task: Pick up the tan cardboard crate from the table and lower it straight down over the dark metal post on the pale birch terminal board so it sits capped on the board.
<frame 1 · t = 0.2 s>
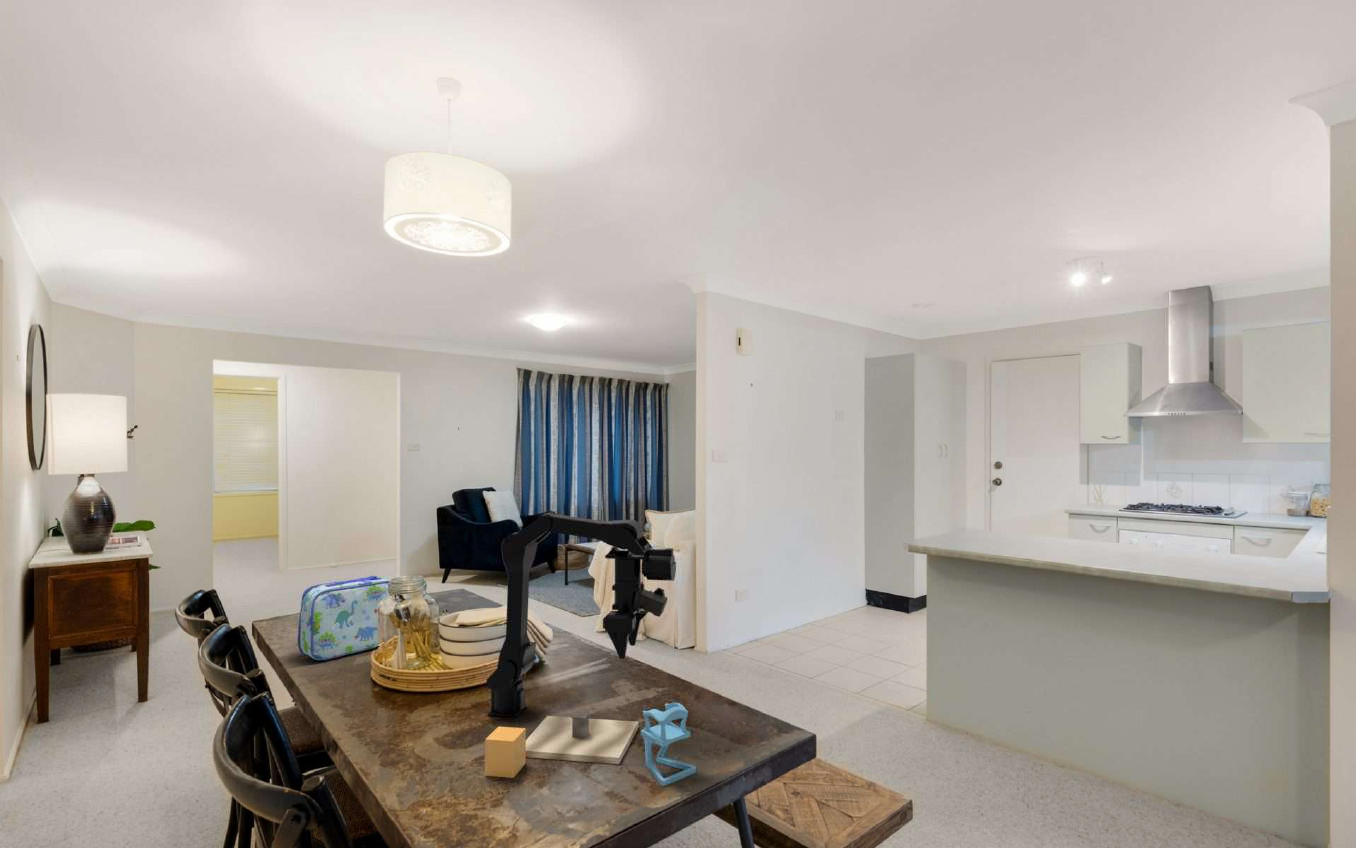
hand: (627, 651, 141), 14 cm above the table, tool pointing down, fingers open, 9 cm apart
chair: (665, 772, 118), on the table
tan cardboard crate: (505, 769, 119), on the table
terminal board: (580, 741, 130), on the table
lunch box: (350, 651, 190), on the table
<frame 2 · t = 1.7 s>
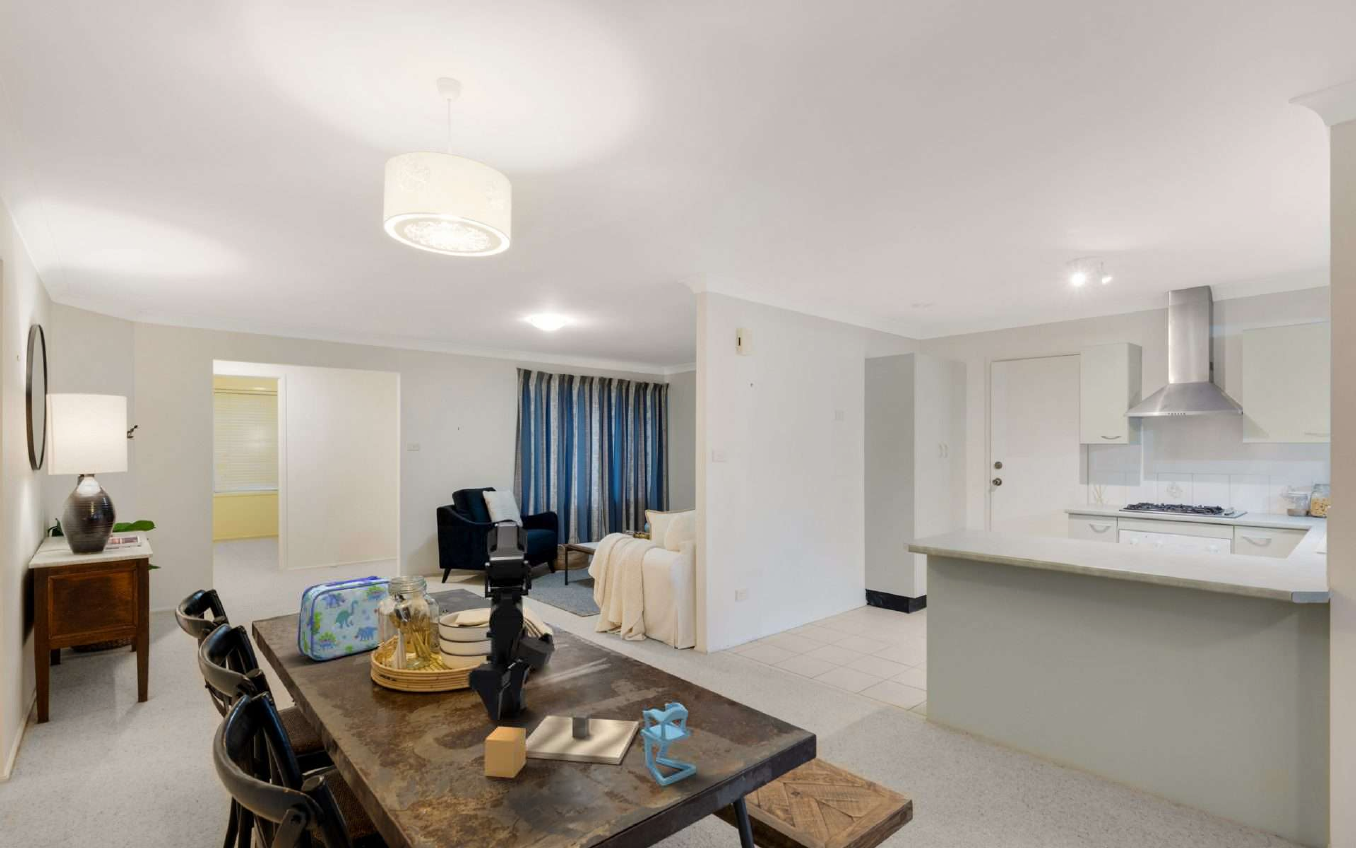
hand: (506, 709, 119), 11 cm above the table, tool pointing down, fingers open, 9 cm apart
nothing on the table moved.
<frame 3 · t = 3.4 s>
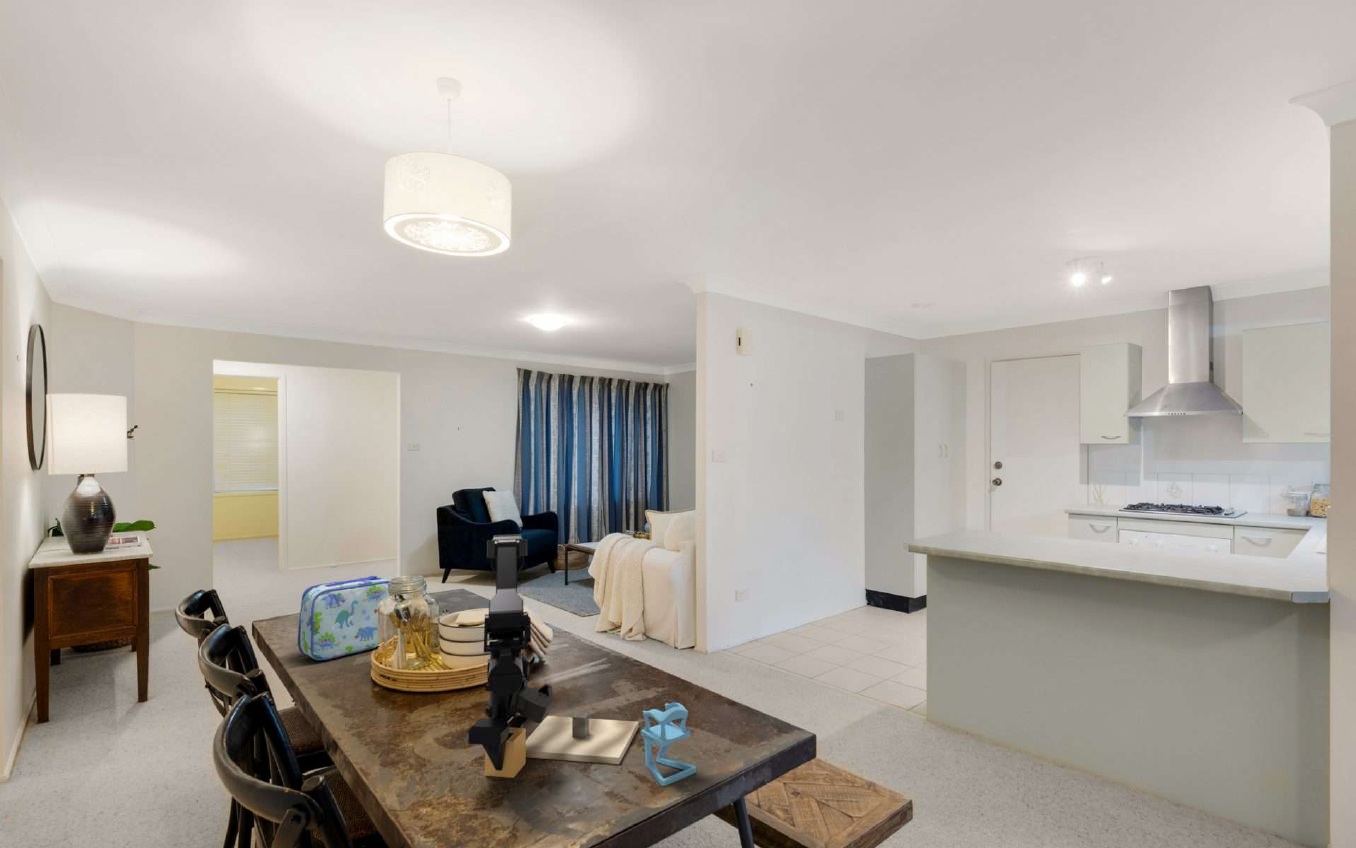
hand: (505, 762, 119), 1 cm above the table, tool pointing down, fingers closed on tan cardboard crate, 5 cm apart
tan cardboard crate: (505, 769, 119), on the table, touching gripper
everything else where it was.
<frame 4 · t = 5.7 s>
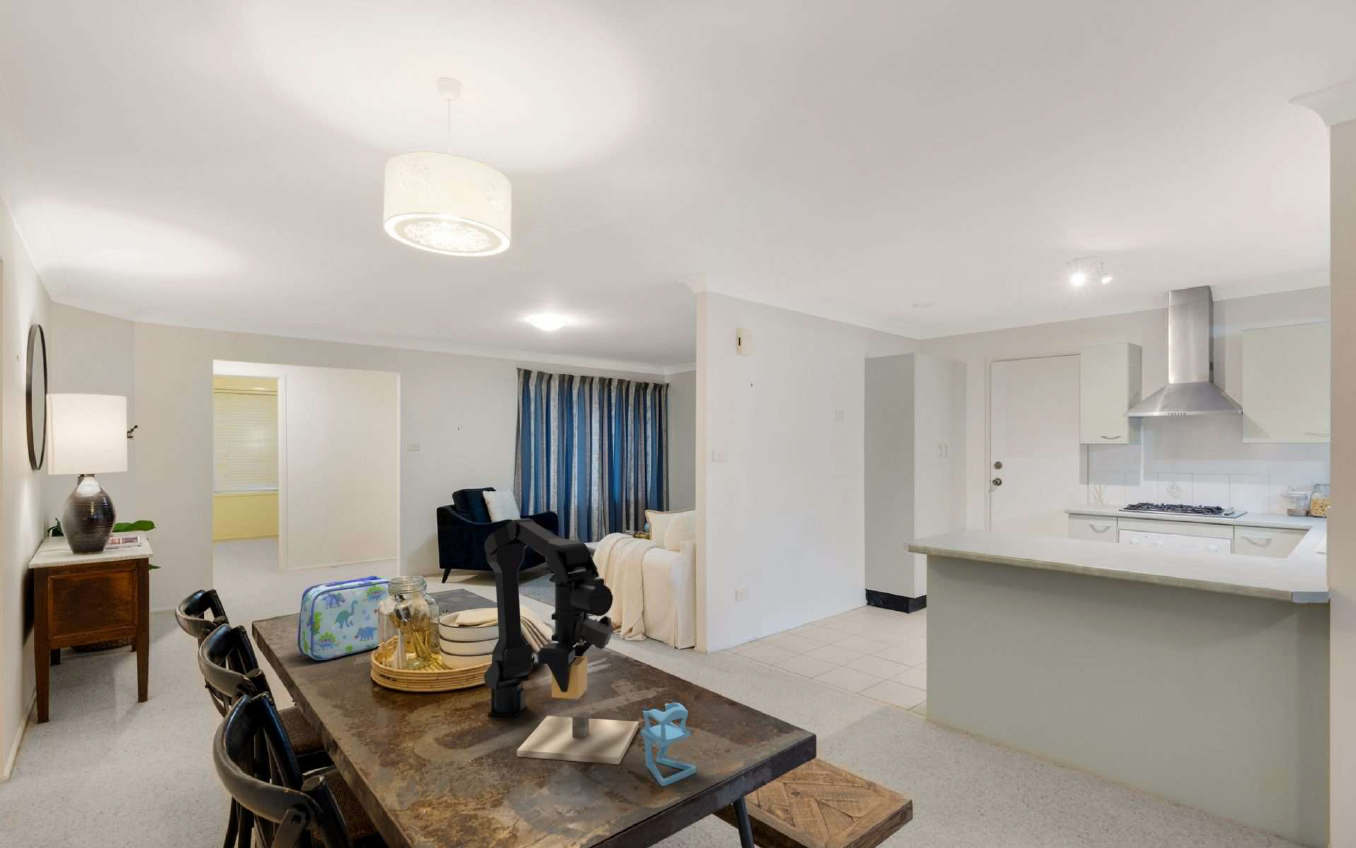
hand: (569, 686, 129), 11 cm above the table, tool pointing down, fingers closed on tan cardboard crate, 5 cm apart
tan cardboard crate: (569, 693, 129), point 10 cm above the table, touching gripper
everything else where it was.
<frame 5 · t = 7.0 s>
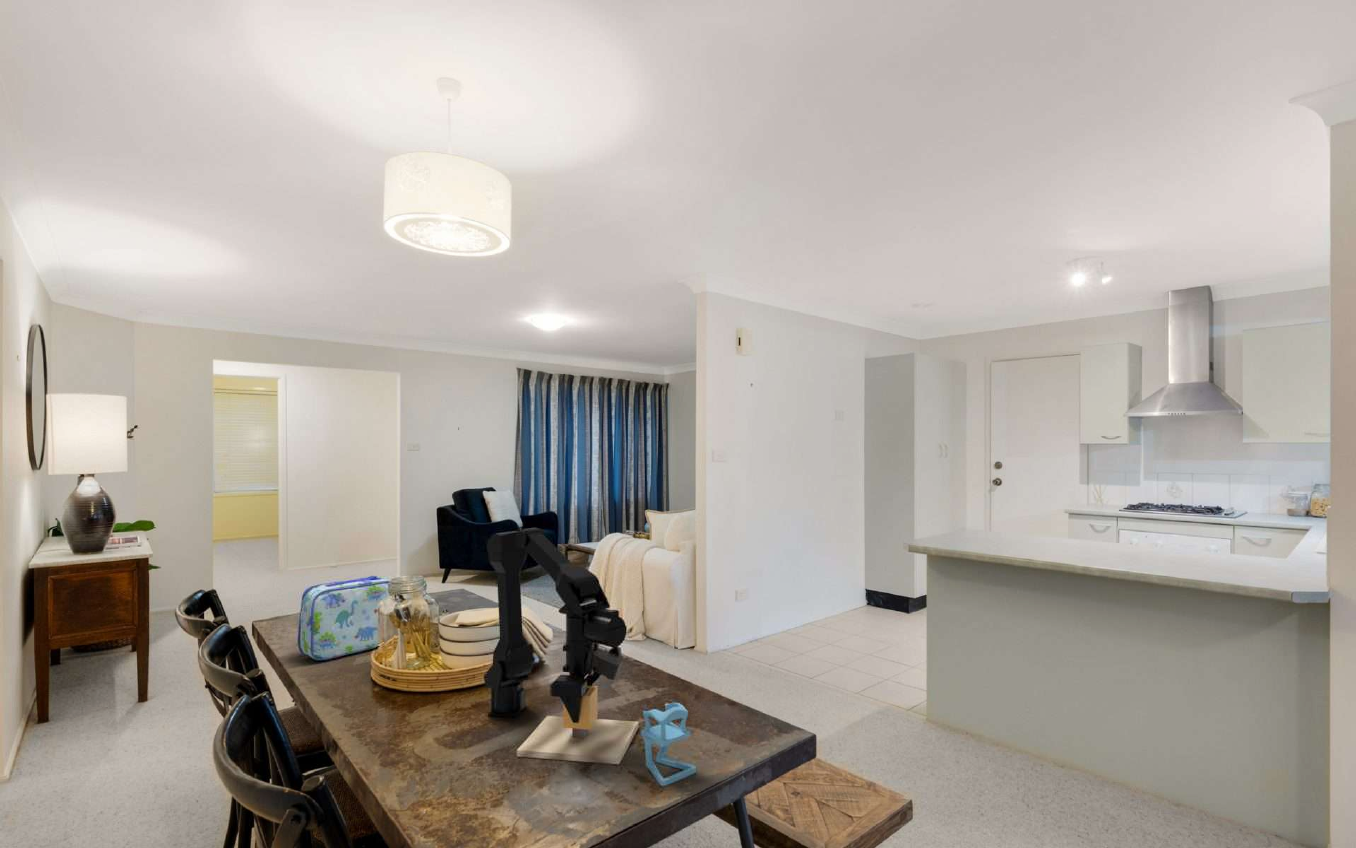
hand: (580, 716, 130), 5 cm above the table, tool pointing down, fingers closed on tan cardboard crate, 5 cm apart
tan cardboard crate: (580, 722, 130), point 4 cm above the table, touching gripper
everything else where it was.
when the fingers open (4 cm above the table, at t = 8.0 s): tan cardboard crate drops 1 cm, resting on terminal board.
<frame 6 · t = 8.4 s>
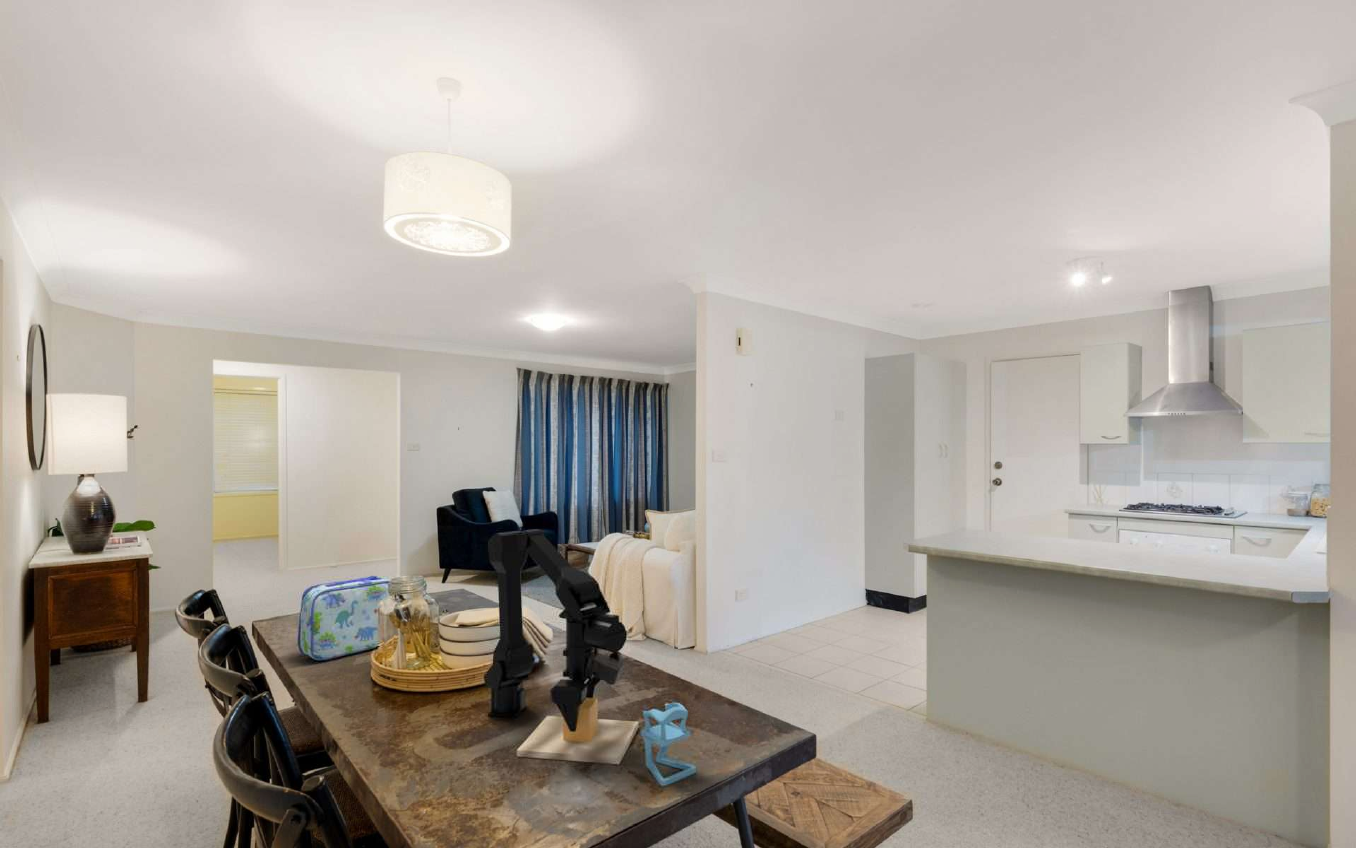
hand: (580, 721, 130), 4 cm above the table, tool pointing down, fingers open, 9 cm apart
tan cardboard crate: (580, 735, 130), point 1 cm above the table, touching terminal board
everything else where it was.
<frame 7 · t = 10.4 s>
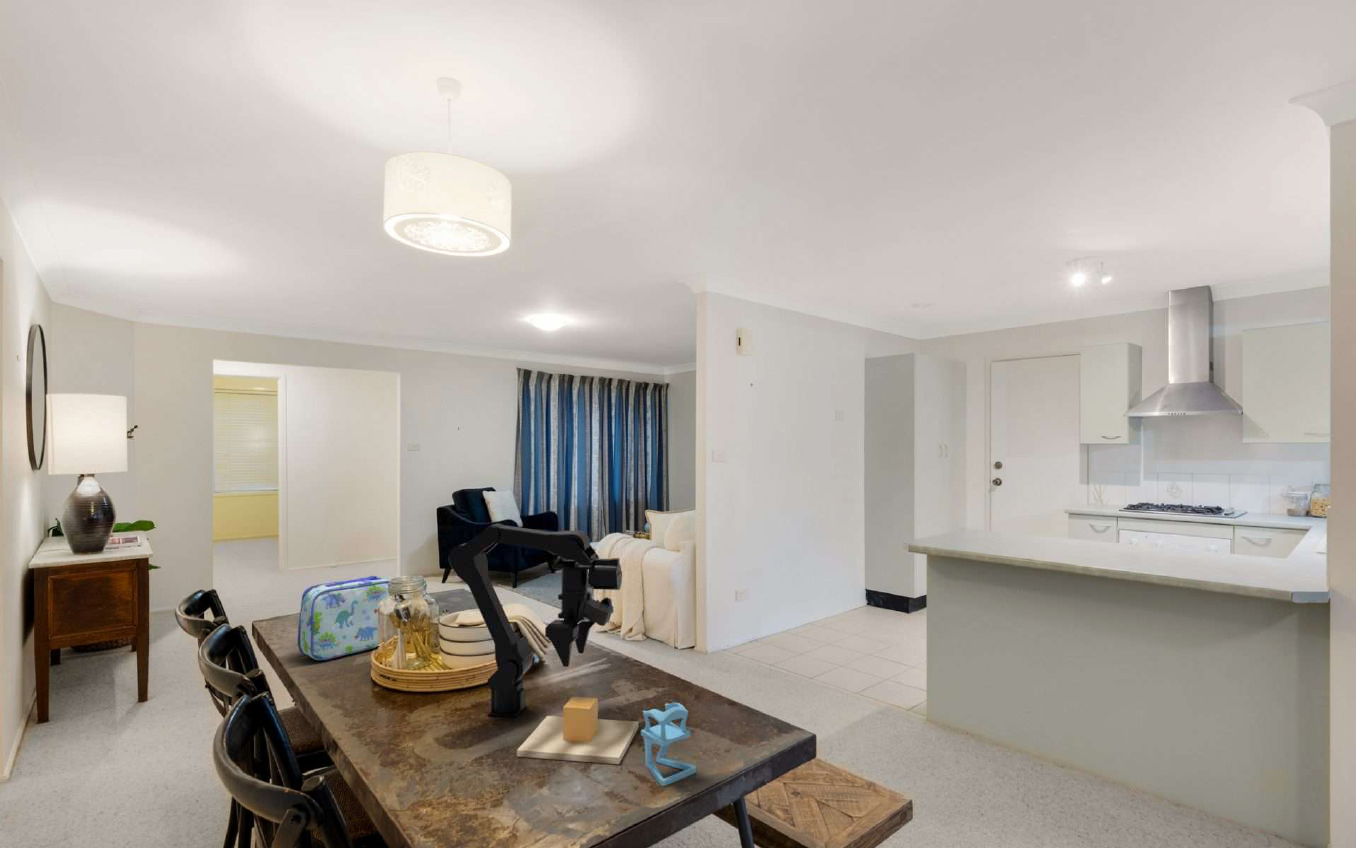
hand: (573, 659, 144), 12 cm above the table, tool pointing down, fingers open, 9 cm apart
nothing on the table moved.
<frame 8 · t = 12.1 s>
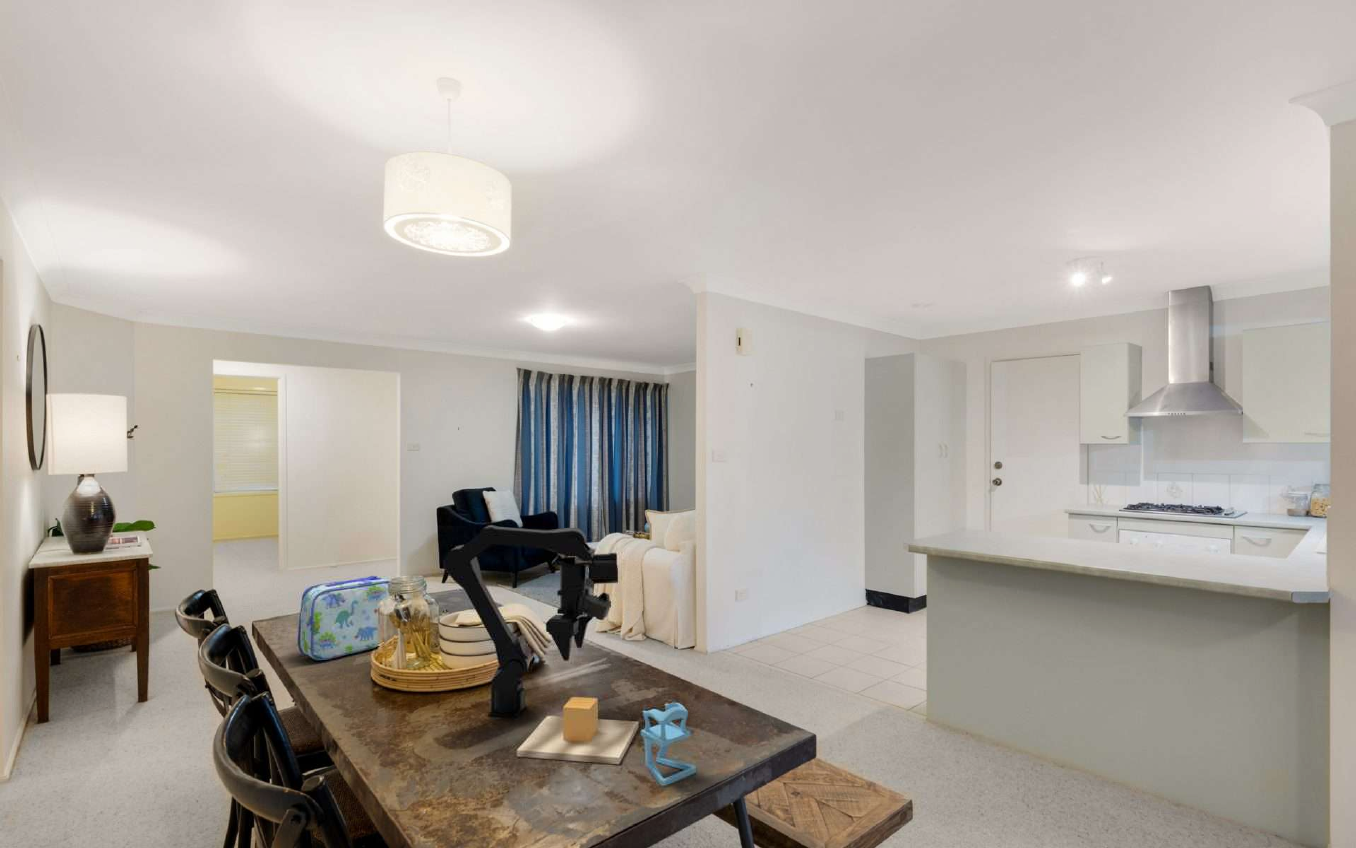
hand: (573, 653, 148), 12 cm above the table, tool pointing down, fingers open, 9 cm apart
nothing on the table moved.
at the end: tan cardboard crate 0.0 cm from the terminal board (horizontally); tan cardboard crate point 1.2 cm above the table; tan cardboard crate tilted 0° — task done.
